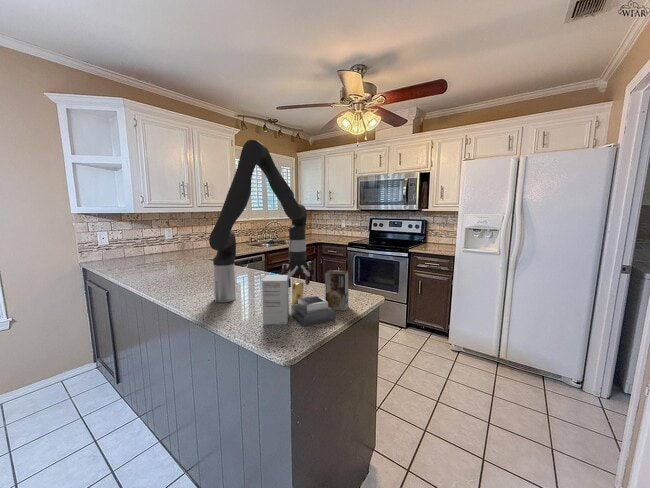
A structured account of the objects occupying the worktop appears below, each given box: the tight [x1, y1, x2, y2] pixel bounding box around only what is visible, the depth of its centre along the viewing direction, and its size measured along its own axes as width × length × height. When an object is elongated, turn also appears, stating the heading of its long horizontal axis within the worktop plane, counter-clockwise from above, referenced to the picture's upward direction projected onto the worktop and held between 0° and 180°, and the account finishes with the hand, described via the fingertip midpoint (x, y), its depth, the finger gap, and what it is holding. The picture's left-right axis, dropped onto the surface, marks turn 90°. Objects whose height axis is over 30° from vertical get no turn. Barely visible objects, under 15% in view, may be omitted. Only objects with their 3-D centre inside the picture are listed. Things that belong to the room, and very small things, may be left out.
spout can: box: [291, 280, 304, 306], centre depth 123 cm, size 5×7×10 cm
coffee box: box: [324, 269, 350, 312], centre depth 118 cm, size 9×6×16 cm
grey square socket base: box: [291, 295, 336, 327], centre depth 108 cm, size 13×13×7 cm
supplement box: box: [261, 274, 290, 326], centre depth 104 cm, size 10×9×17 cm
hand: (298, 285), depth 121 cm, fingers open, 8 cm apart
